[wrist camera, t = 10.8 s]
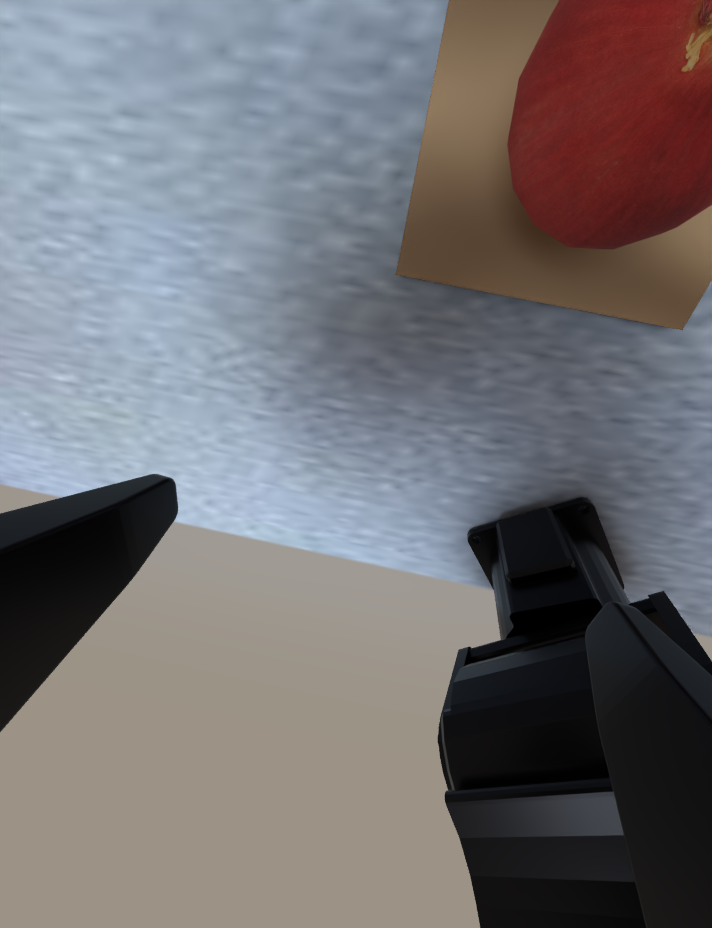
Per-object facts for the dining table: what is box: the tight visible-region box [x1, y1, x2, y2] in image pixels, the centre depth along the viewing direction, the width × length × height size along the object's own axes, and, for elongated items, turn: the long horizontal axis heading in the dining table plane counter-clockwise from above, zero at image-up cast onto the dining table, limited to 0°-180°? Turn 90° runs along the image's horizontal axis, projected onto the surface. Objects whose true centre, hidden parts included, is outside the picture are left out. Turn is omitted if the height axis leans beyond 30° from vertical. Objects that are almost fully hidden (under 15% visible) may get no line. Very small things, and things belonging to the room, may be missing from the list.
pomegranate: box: [507, 0, 712, 250], centre depth 8 cm, size 6×6×8 cm
